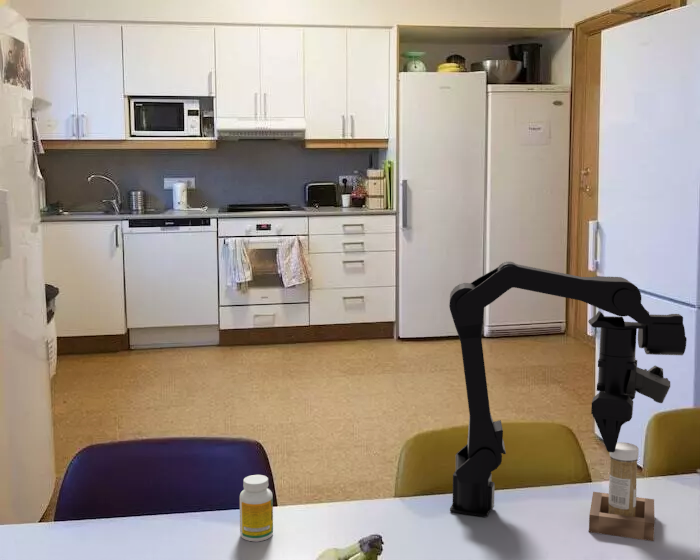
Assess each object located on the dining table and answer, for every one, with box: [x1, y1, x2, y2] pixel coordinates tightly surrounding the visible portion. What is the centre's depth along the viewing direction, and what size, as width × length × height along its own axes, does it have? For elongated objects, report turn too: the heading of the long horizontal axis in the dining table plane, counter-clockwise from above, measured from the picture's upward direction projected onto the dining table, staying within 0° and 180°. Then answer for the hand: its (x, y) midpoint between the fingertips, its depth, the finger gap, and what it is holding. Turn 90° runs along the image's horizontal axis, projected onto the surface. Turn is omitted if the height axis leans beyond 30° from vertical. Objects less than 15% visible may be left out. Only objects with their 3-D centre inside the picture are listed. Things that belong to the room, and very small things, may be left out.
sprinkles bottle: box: [608, 441, 640, 517], centre depth 136 cm, size 5×5×13 cm
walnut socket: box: [588, 491, 656, 542], centre depth 136 cm, size 10×10×3 cm
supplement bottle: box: [238, 474, 274, 543], centre depth 132 cm, size 5×5×10 cm
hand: (612, 443), depth 138 cm, fingers open, 9 cm apart
